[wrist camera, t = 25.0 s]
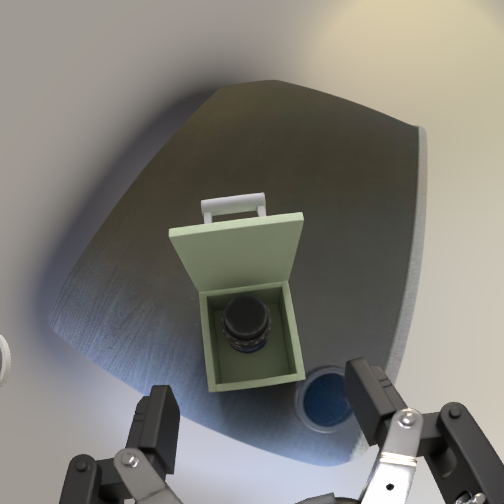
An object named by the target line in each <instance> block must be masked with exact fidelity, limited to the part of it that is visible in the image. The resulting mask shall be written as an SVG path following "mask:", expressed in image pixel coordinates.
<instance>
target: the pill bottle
mask: <svg viewBox="0 0 504 504" xmlns="http://www.w3.org/2000/svg"><path fill="white" fill-rule="evenodd" d="M221 328H222V331H223V333H224V335H225V337H226V339H227V341H228V342H229V344H230V346H231V347H232V348H233V349H235V350H236V351H238V352H241V353H246V354H248V353H254V352H256V351H258V350H260V349H261V348H263V347H264V346H265V344H266V342H267V340H268V337H269V334H270V331H271V328H272V316H271V313H270V310H269V309H268V307H267V306H266V305H265V304H264V303H263V302H262V301H261V300H260V299H259V298H257V297H255V296H252V295H248V294H245V295H239V296H237V297H234V298H233V299H232V300H231V301H230V302H229V303H228V304H227V306H226V307H225V309H224V310H223V312H222V316H221Z"/></svg>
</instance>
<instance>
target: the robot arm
mask: <svg viewBox="0 0 504 504" xmlns="http://www.w3.org/2000/svg"><path fill="white" fill-rule="evenodd" d="M1 368H2V352H1V348H0V372H1ZM344 392H345V395H346V397H347V399H348V402H349V404H350V406H351V408H352V410H353V412H354V414H355V416H356V418H357V421H358V423H359V425H360V427H361V429H362V431H363V433H364V435H365V438H366V440H367V442H368V444H369V446H372V445H376V444H378V446H379V448H380V449H379V452H378V454H377V457H376V460H375V462H374V465H373V468H372V470H371V473H370V475H369V478H368V480H367V482H366V484H365V486H364V489H363V490H362V493H361V495H360V497H359V499H358V500H356V499H352V498H345V497H335V496H334V493H329V494H325V495H321V496H317V497H312V498H307V499H305V500H303V501H300V502H298V503H295V504H405V503H406V499H407V497H408V494H409V491H410V487H411V484H412V481H413V478H414V474H415V470H416V466H417V461H416V460H415V459H416V457H420V456H424V458H425V460H426V462H427V464H428V466H429V468H430V470H431V473H432V475H433V477H434V479H435V481H436V483H437V485H438V488H439V490H440V492H441V494H442V496H443V499H444V501H445V503H446V504H504V465H503V463H502V461H501V460H500V458H499V456H498V455H497V453H496V452H495V450H494V448H493V447H492V445H491V444H490V442H489V441H488V439H487V438H486V436H485V435H484V433H483V432H482V430H481V429H480V427H479V426H478V424H477V423H476V421H475V420H474V418H473V417H472V415H471V414H470V413H469V412H468V410H467V408H466V407H465V406H464V405H462V404H460V403H457V402H451V403H447V404H446V405H444V406H443V407H442V409H441V411H440V412H435V413H428V414H421V413H420V412H419V411H417V410H415V409H412V408H408V407H407V405H406V404H405V402H404V401H403V399H402V398H401V396H400V395H399V393H398V392H397V390H396V389H395V387H394V386H393V385H392V383H391V381H390V380H389V379H388V377H387V375H386V374H385V372H384V371H383V370H382V369H380V368H379V367H377V366H376V365H372V366H369V365H368V363H367V362H366V360H365V359H364V358H363V357H361V358H357V359H353V360H349V361H347V362H346V368H345V377H344ZM179 422H180V410H179V406H178V404H177V402H176V399H175V397H174V394H173V392H172V389H171V387H170V386H169V385H154V386H152V389H151V393H150V396H143V398H142V399H141V400H140V401H139V403H138V404H137V407H136V410H135V415H134V418H133V422H132V425H131V428H130V432H129V436H128V440H127V443H126V447H125V449H122V450H120V451H119V452H118V453H117V454H116V455H115V457H114V458H110V459H104V460H97V461H95V460H94V459H93V458H92V457H91V456H89V455H86V454H81V455H78V456H75V457H74V458H73V459H72V460H71V461H70V463H69V467H68V470H67V474H66V477H65V481H64V485H63V489H62V493H61V497H60V501H59V504H124V499H131V498H134V500H135V504H183V503H182V502H181V500H180V499H179V498H178V497H177V496H176V495H175V493H174V492H173V491H172V490H171V488H170V487H169V486H168V485H167V483H166V482H165V478H166V474H174V466H175V457H176V448H177V439H178V431H179Z"/></svg>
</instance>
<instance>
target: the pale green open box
mask: <svg viewBox="0 0 504 504" xmlns="http://www.w3.org/2000/svg"><path fill="white" fill-rule="evenodd" d="M245 294H248V295H252V296H255V297H257V298H259V299H260V300H261V301H262V302H263V303H264V304H265V305H266V306H267V307H268V309H269V310H270V313H271V316H272V328H271V331H270V334H269V337H268V340H267V342H266V344H265V346H264V347H263V348H261V349H260V350H258V351H256V352H254V353H248V354H246V353H241V352H238V351H236V350H235V349H233V348H232V347H231V346H230V344H229V342H228V341H227V339H226V337H225V335H224V333H223V331H222V328H221V316H222V312H223V310H224V309H225V307H226V306H227V304H228V303H229V302H230V301H231V300H232V299H233V298H234V297H237V296H239V295H245ZM199 298H200V310H201V322H202V333H203V343H204V353H205V362H206V371H207V380H208V388H209V392H219V391H229V390H239V389H247V388H255V387H262V386H269V385H276V384H282V383H288V382H293V381H299V380H304V379H306V378H305V372H304V366H303V360H302V355H301V349H300V343H299V338H298V332H297V327H296V321H295V316H294V311H293V306H292V300H291V295H290V290H289V285H288V281H282V282H275V283H268V284H261V285H253V286H246V287H238V288H230V289H222V290H214V291H206V292H199Z"/></svg>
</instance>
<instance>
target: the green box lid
mask: <svg viewBox="0 0 504 504" xmlns="http://www.w3.org/2000/svg"><path fill="white" fill-rule="evenodd" d="M265 208H266V203H265V196H264V193H257V194H248V195H239V196H231V197H224V198H216V199H209V200H202V201H201V209H202V215H203V217H204V224H202V225H194V226H187V227H180V228H173V229H169V238H170V240H171V242H172V244H173V246H174V248H175V250H176V252H177V254H178V255H179V257H180V259H181V261H182V263H183V265H184V267H185V269H186V270H187V272H188V274H189V276H190V278H191V280H192V281H193V283H194V285H195V287H196V289H197V290H198V292H206V291H214V290H222V289H230V288H238V287H246V286H253V285H261V284H268V283H275V282H282V281H288V280H289V276H290V272H291V269H292V265H293V261H294V257H295V254H296V250H297V246H298V242H299V238H300V234H301V230H302V226H303V222H304V218H303V214H302V212H300V213H291V214H282V215H273V216H266V212H265ZM254 210H257V214H258V217H256V218H248V219H240V220H232V221H224V222H216V223H212V216H214V215H222V214H230V213H238V212H246V211H254Z"/></svg>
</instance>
